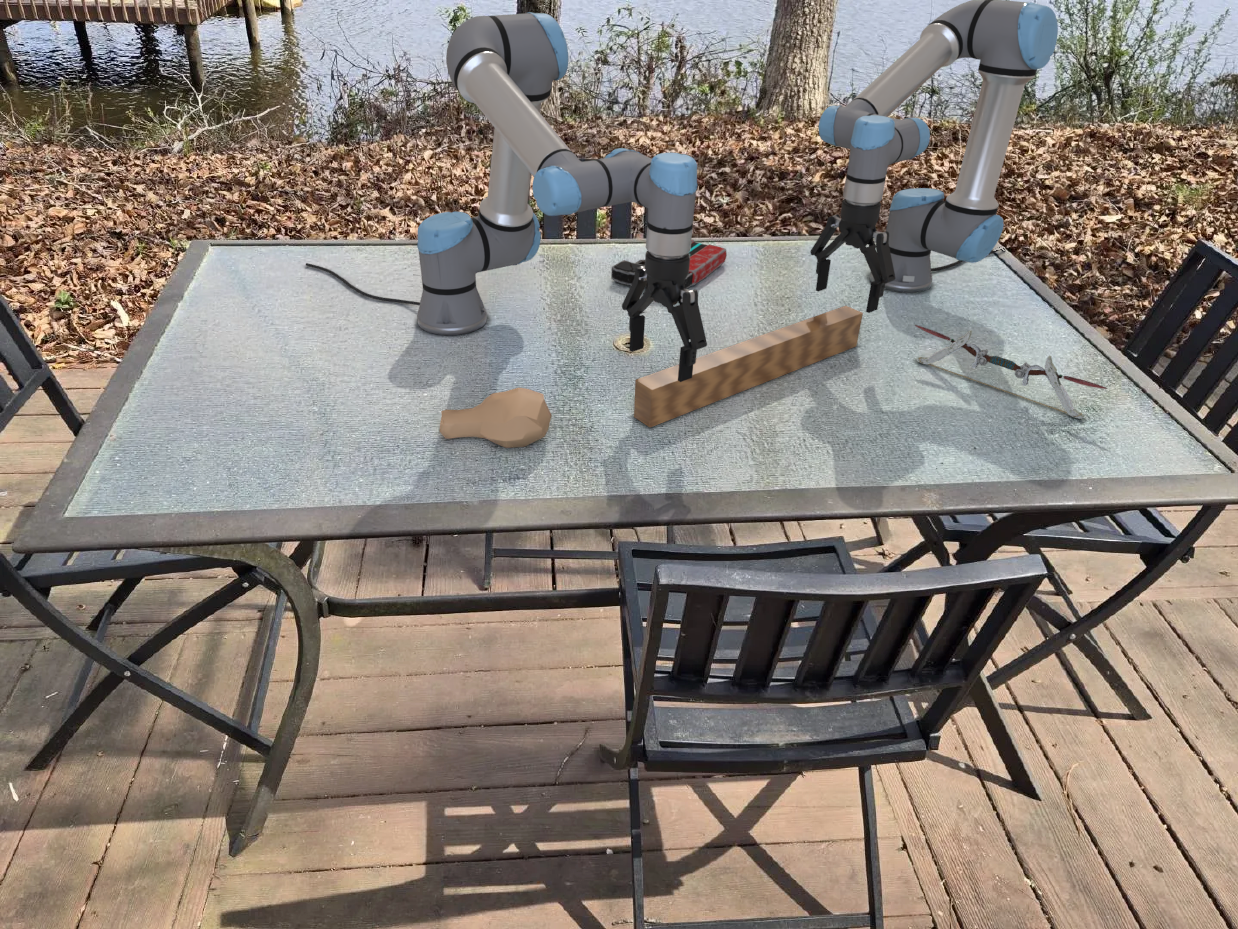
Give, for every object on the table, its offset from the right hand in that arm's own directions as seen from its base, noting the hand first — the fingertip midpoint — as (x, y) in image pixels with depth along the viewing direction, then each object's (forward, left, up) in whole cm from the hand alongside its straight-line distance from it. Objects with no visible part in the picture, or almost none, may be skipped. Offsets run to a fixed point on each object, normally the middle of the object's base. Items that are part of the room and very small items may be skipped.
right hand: (845, 300), depth 185 cm
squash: (+80, +6, -11) cm, 81 cm away
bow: (-18, +29, -11) cm, 35 cm away
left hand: (+50, +10, 0) cm, 51 cm away
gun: (+13, -51, -11) cm, 54 cm away
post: (+25, +5, -11) cm, 28 cm away
